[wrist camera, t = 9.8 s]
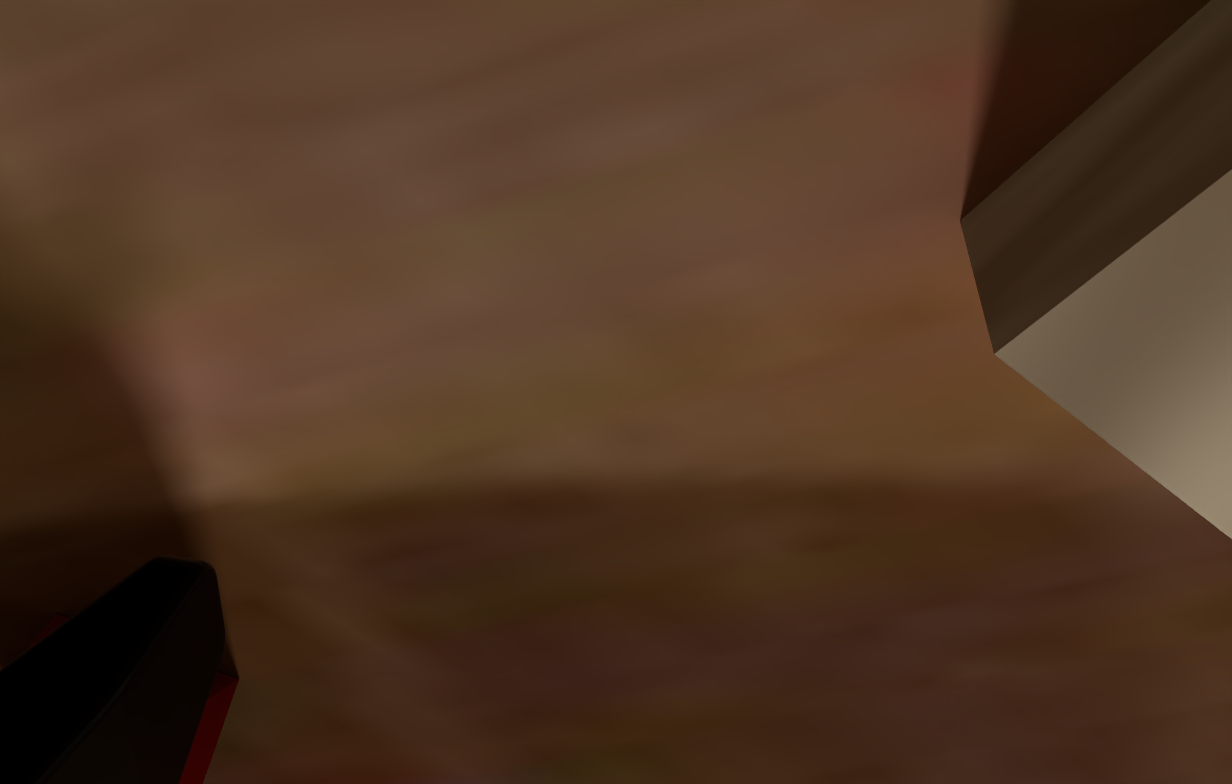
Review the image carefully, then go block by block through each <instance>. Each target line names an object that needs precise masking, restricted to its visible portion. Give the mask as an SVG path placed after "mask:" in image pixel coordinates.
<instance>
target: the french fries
mask: <svg viewBox="0 0 1232 784" xmlns="http://www.w3.org/2000/svg"><path fill="white" fill-rule="evenodd" d="M68 619H70V618H67V617H65V616H62V615H59V614H56V615H55V616H54V617H53V618H52V619H51V621H50V622H49V623H48V624H47V626H46V627H45V628H44V629H43V630H42V632H41V633H40V634H39V635H38V637H37V638H36V639H35V640H34V641H33V643H32V644H31V645H30V646H29V648H30V647H32V646H33V645H34V644H36V643H37V642H38V641H40V640H41V639H42V638H44V637H45V636H46V635H48V634H49V633H51V632H52V631H53V630H55V629H56V628H57V627H59V626H60V625H61V624H63V623H64V622H65V621H67V620H68ZM29 648H28V649H29ZM238 681H239V679H237V678H234V677H231V676H228V675H226V674H223V673H220V672H217V673H216V676H215V679H214V682H213V685H212V688H211V691H210V694H209V697H208V700H207V703H206V706H205V709H204V712H203V715H202V717H201V720H200V723H199V726H198V729H197V732H196V735H195V738H194V741H193V744H192V747H191V750H190V753H189V756H188V759H187V762H186V765H185V768H184V771H183V773H182V776H181V779H180V782H179V784H203V781H204V778H205V775H206V773H207V770H208V767H209V764H210V761H211V758H212V755H213V753H214V750H215V747H216V744H217V741H218V738H219V735H220V732H221V730H222V727H223V724H224V721H225V718H226V715H227V712H228V710H229V707H230V704H231V701H232V698H233V695H234V692H235V689H236V687H237V684H238Z"/></svg>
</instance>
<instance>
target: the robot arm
mask: <svg viewBox="0 0 1232 784" xmlns="http://www.w3.org/2000/svg"><path fill="white" fill-rule="evenodd" d="M224 642H225V627H224V620H223V614H222V607H221V601H220V595H219V588H218V582H217V576H216V572H215V569H214V568H213V566H212V565H211V564H210V563H209V562H206V561H204V560H197V559H191V558H185V557H179V556H173V555H160V556H157V557H154V558H152V559H150V560H149V561H147V562H146V563H144V564H143V565H142V566H140V567H139V568H137V569H136V570H135V571H133V572H132V573H131V574H129V575H128V576H127V577H125V578H124V579H123V580H121V581H120V582H118V583H117V584H116V585H114V586H113V587H112V588H110V589H109V590H108V591H106V592H105V593H103V594H102V595H101V596H99V597H98V598H97V599H95V600H94V601H93V602H91V603H90V604H89V605H87V606H86V607H84V608H83V609H82V610H80V611H79V612H78V613H76V614H75V615H74V616H72V617H71V618H70V619H68V620H67V621H65V622H64V623H63V624H61V625H60V626H59V627H57V628H56V629H55V630H53V631H52V632H51V633H49V634H48V635H46V636H45V637H44V638H42V639H41V640H40V641H38V642H37V643H36V644H34V645H33V646H32V647H30V648H29V649H27V650H26V651H25V652H23V653H22V654H21V655H19V656H18V657H17V658H15V659H14V660H12V661H11V662H10V663H8V664H7V665H6V666H4V667H3V668H2V669H0V784H179V782H180V779H181V776H182V773H183V771H184V768H185V765H186V762H187V759H188V756H189V753H190V750H191V747H192V744H193V741H194V738H195V735H196V732H197V729H198V726H199V723H200V720H201V717H202V715H203V712H204V709H205V706H206V703H207V700H208V697H209V694H210V691H211V688H212V685H213V682H214V679H215V676H216V673H217V670H218V667H219V664H220V661H221V658H222V654H223V649H224Z"/></svg>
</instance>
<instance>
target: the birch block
mask: <svg viewBox="0 0 1232 784" xmlns="http://www.w3.org/2000/svg"><path fill="white" fill-rule="evenodd" d="M960 223H961V227H962V231H963V234H964V238H965V242H966V246H967V250H968V254H969V258H970V262H971V266H972V269H973V273H974V277H975V281H976V285H977V289H978V293H979V297H980V301H981V305H982V308H983V312H984V316H985V320H986V324H987V328H988V332H989V336H990V340H991V343H992V347H993V351H994V354H995V355H996V356H997V357H999V358H1000V359H1001V360H1002V361H1004V362H1005V363H1006V364H1008V365H1009V366H1010V367H1011V368H1013V369H1014V370H1015V371H1017V372H1018V373H1019V374H1020V375H1022V376H1023V377H1024V378H1026V379H1027V380H1028V381H1029V382H1031V383H1032V384H1033V385H1035V386H1036V387H1037V388H1038V389H1040V390H1041V391H1042V392H1044V393H1045V394H1046V395H1047V396H1049V397H1050V398H1051V399H1053V400H1054V401H1055V402H1056V403H1058V404H1059V405H1060V406H1062V407H1063V408H1064V409H1065V410H1067V411H1068V412H1069V413H1071V414H1072V415H1073V416H1074V417H1076V418H1077V419H1078V420H1080V421H1081V422H1082V423H1083V424H1085V425H1086V426H1087V427H1089V428H1090V429H1091V430H1092V431H1094V432H1095V433H1096V434H1097V435H1099V436H1100V437H1101V438H1103V439H1104V440H1105V441H1106V442H1108V443H1109V444H1110V445H1112V446H1113V447H1114V448H1115V449H1117V450H1118V451H1119V452H1121V453H1122V454H1123V455H1124V456H1126V457H1127V458H1128V459H1130V460H1131V461H1132V462H1133V463H1135V464H1136V465H1137V466H1139V467H1140V468H1141V469H1142V470H1144V471H1145V472H1146V473H1148V474H1149V475H1150V476H1151V477H1153V478H1154V479H1155V480H1157V481H1158V482H1159V483H1160V484H1162V485H1163V486H1164V487H1166V488H1167V489H1168V490H1169V491H1171V492H1172V493H1173V494H1175V495H1176V496H1177V497H1178V498H1180V499H1181V500H1182V501H1184V502H1185V503H1186V504H1187V505H1189V506H1190V507H1191V508H1192V509H1194V510H1195V511H1196V512H1198V513H1199V514H1200V515H1201V516H1203V517H1204V518H1205V519H1207V520H1208V521H1209V522H1210V523H1212V524H1213V525H1214V526H1216V527H1217V528H1218V529H1219V530H1221V531H1222V532H1223V533H1225V534H1226V535H1227V536H1228V537H1230V538H1231V539H1232V0H1210V1H1209V2H1208V3H1207V4H1206V5H1205V6H1204V7H1202V8H1201V9H1200V10H1199V11H1198V12H1197V13H1196V14H1194V15H1193V16H1192V17H1191V18H1190V19H1189V20H1188V21H1186V22H1185V23H1184V24H1183V25H1182V26H1181V27H1180V28H1179V29H1177V30H1176V31H1175V32H1174V33H1173V34H1172V35H1171V36H1169V37H1168V38H1167V39H1166V40H1165V41H1164V42H1163V43H1161V44H1160V45H1159V46H1158V47H1157V48H1156V49H1155V50H1153V51H1152V52H1151V53H1150V54H1149V55H1148V56H1147V57H1146V58H1144V59H1143V60H1142V61H1141V62H1140V63H1139V64H1138V65H1136V66H1135V67H1134V68H1133V69H1132V70H1131V71H1130V72H1128V73H1127V74H1126V75H1125V76H1124V77H1123V78H1122V79H1121V80H1119V81H1118V82H1117V83H1116V84H1115V85H1114V86H1113V87H1111V88H1110V89H1109V90H1108V91H1107V92H1106V93H1105V94H1103V95H1102V96H1101V97H1100V98H1099V99H1098V100H1097V101H1095V102H1094V103H1093V104H1092V105H1091V106H1090V107H1089V108H1088V109H1086V110H1085V111H1084V112H1083V113H1082V114H1081V115H1080V116H1078V117H1077V118H1076V119H1075V120H1074V121H1073V122H1072V123H1070V124H1069V125H1068V126H1067V127H1066V128H1065V129H1064V130H1062V131H1061V132H1060V133H1059V134H1058V135H1057V136H1056V137H1055V138H1053V139H1052V140H1051V141H1050V142H1049V143H1048V144H1047V145H1045V146H1044V147H1043V148H1042V149H1041V150H1040V151H1039V152H1037V153H1036V154H1035V155H1034V156H1033V157H1032V158H1031V159H1030V160H1028V161H1027V162H1026V163H1025V164H1024V165H1023V166H1022V167H1020V168H1019V169H1018V170H1017V171H1016V172H1015V173H1014V174H1012V175H1011V176H1010V177H1009V178H1008V179H1007V180H1006V181H1004V182H1003V183H1002V184H1001V185H1000V186H999V187H998V188H997V189H995V190H994V191H993V192H992V193H991V194H990V195H989V196H987V197H986V198H985V199H984V200H983V201H982V202H981V203H979V204H978V205H977V206H976V207H975V208H974V209H973V210H971V211H970V212H969V213H968V214H967V215H966V216H965V217H964V218H962V219H961V220H960Z"/></svg>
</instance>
